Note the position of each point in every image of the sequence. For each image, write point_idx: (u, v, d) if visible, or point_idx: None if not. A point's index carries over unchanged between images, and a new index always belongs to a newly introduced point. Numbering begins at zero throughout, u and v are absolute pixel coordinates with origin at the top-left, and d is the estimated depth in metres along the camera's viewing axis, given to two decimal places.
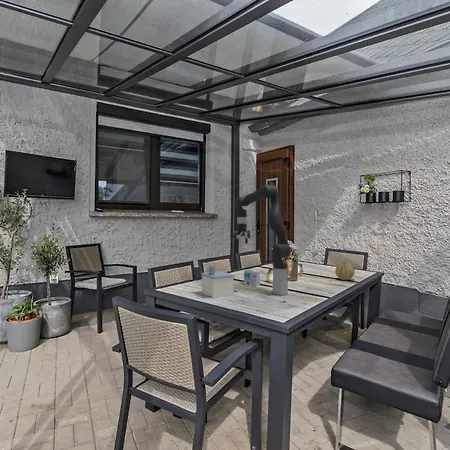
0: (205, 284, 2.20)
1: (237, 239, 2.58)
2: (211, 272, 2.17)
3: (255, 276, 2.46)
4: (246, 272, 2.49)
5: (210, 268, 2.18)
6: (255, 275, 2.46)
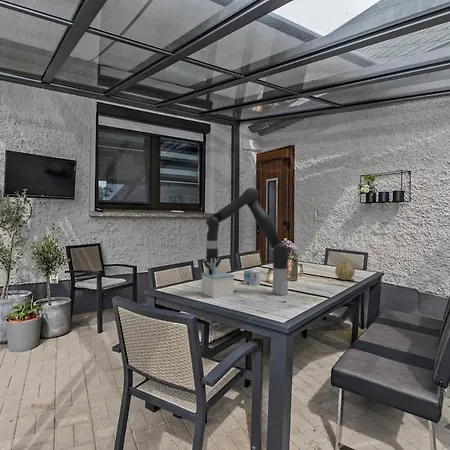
0: (205, 284, 2.20)
1: (210, 269, 2.17)
2: None
3: (255, 276, 2.46)
4: (246, 272, 2.49)
5: None
6: (255, 275, 2.46)
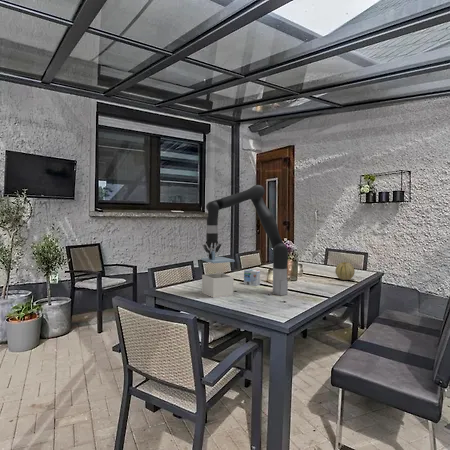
0: (205, 284, 2.20)
1: (210, 253, 2.16)
2: None
3: (255, 276, 2.46)
4: (246, 272, 2.49)
5: None
6: (255, 275, 2.46)
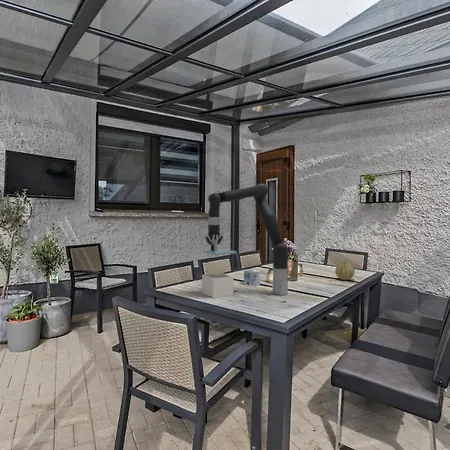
0: (205, 284, 2.20)
1: (212, 245, 2.17)
2: None
3: (255, 276, 2.46)
4: (246, 272, 2.49)
5: None
6: (255, 275, 2.46)
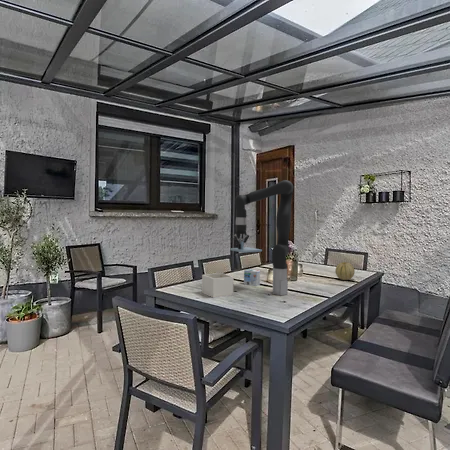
0: (205, 284, 2.20)
1: (240, 244, 2.32)
2: None
3: (255, 276, 2.46)
4: (246, 272, 2.49)
5: None
6: (255, 275, 2.46)
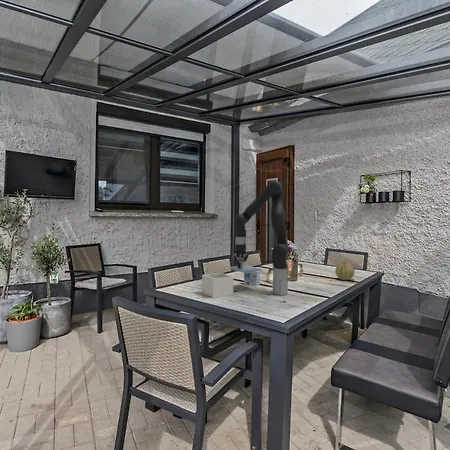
0: (205, 284, 2.20)
1: (239, 263, 2.32)
2: (240, 266, 2.33)
3: (255, 276, 2.46)
4: (246, 272, 2.49)
5: None
6: (255, 275, 2.46)
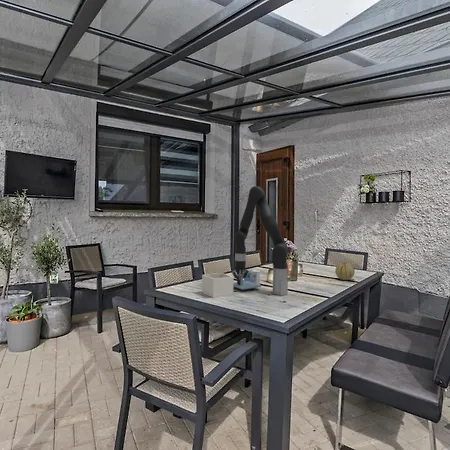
0: (205, 284, 2.20)
1: (239, 279, 2.33)
2: None
3: (255, 276, 2.46)
4: None
5: None
6: (255, 275, 2.46)
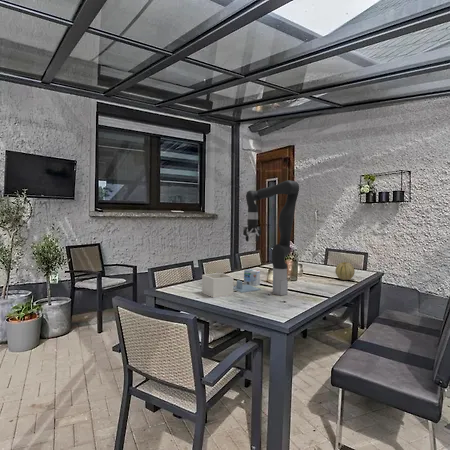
0: (205, 284, 2.20)
1: (247, 236, 2.39)
2: (239, 286, 2.33)
3: (255, 276, 2.46)
4: (246, 272, 2.49)
5: (238, 283, 2.34)
6: (255, 275, 2.46)
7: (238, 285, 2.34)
